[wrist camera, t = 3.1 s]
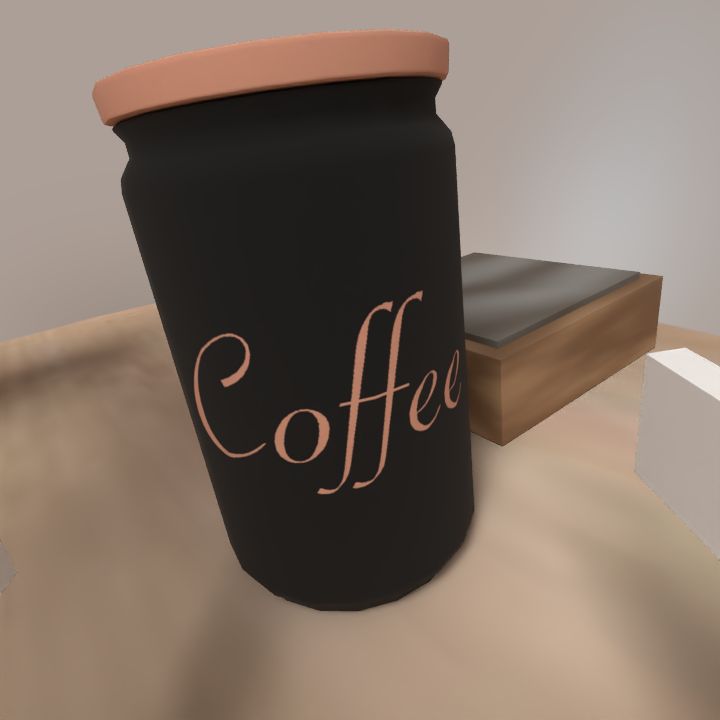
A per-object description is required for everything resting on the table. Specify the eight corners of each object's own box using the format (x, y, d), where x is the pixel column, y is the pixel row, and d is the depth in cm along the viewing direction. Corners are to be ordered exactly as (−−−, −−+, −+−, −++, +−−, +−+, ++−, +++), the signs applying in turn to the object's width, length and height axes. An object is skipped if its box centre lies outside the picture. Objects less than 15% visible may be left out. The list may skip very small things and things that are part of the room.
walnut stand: (334, 366, 39) (323, 299, 37) (476, 306, 47) (473, 248, 45) (502, 446, 27) (500, 352, 24) (654, 347, 35) (663, 270, 32)
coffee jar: (211, 646, 18) (0, 76, 11) (255, 468, 28) (160, 106, 21) (509, 607, 18) (497, 2, 11) (447, 441, 28) (420, 68, 20)
